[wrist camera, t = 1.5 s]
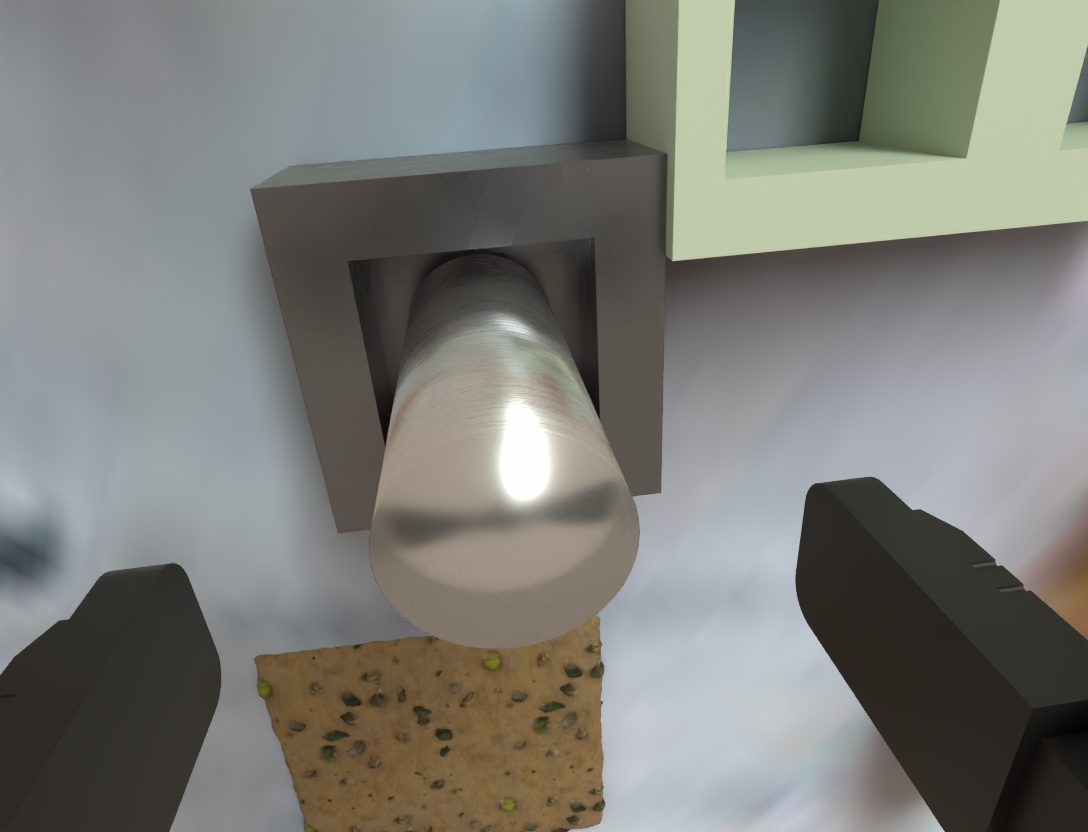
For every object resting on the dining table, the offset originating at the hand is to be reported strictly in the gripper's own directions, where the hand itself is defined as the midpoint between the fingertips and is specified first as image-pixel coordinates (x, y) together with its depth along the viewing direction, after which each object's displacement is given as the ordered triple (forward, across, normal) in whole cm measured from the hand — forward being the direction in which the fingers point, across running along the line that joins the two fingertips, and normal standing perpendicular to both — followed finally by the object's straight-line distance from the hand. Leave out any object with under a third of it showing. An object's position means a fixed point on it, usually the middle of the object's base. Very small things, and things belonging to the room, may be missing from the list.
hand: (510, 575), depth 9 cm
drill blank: (+9, 0, 0) cm, 9 cm away
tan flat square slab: (+11, +3, +17) cm, 20 cm away
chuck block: (+10, 0, 0) cm, 10 cm away
